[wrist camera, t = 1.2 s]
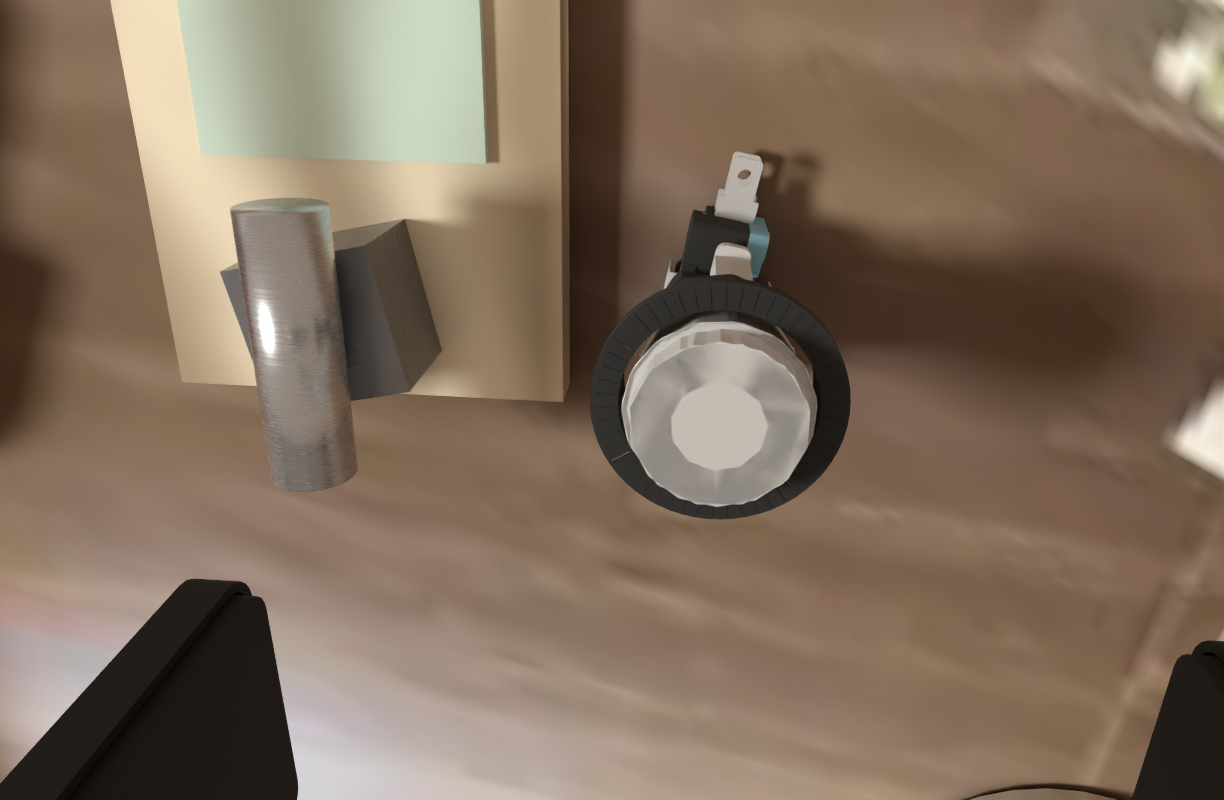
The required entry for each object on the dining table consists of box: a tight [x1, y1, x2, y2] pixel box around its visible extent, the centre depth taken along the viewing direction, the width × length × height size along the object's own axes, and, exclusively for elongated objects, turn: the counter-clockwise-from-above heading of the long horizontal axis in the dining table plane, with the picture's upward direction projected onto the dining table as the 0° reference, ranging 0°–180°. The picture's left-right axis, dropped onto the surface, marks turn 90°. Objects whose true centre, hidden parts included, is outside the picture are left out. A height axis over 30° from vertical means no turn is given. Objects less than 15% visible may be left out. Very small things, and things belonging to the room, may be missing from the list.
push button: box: [590, 151, 851, 519], centre depth 22 cm, size 7×5×10 cm
